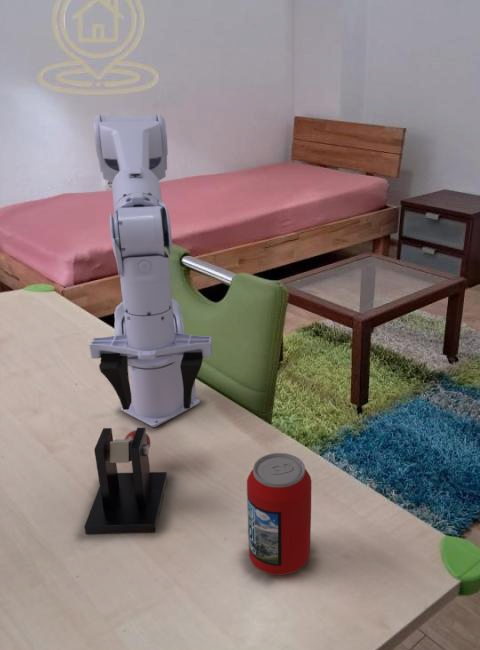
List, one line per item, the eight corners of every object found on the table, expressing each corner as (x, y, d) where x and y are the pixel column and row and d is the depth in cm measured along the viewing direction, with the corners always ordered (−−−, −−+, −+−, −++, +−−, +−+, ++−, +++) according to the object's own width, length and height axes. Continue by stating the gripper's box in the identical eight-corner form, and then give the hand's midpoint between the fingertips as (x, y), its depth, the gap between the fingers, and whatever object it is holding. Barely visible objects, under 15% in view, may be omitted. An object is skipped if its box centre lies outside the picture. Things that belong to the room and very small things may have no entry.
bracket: (105, 480, 82) (96, 415, 78) (167, 479, 82) (161, 414, 78) (85, 534, 73) (73, 464, 69) (155, 532, 73) (148, 462, 69)
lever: (126, 454, 84) (126, 429, 85) (152, 454, 84) (152, 428, 85) (104, 467, 73) (104, 437, 73) (134, 466, 73) (134, 437, 73)
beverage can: (240, 545, 72) (237, 457, 67) (295, 529, 74) (296, 443, 69) (261, 588, 66) (259, 495, 61) (320, 569, 68) (322, 478, 63)
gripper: (77, 320, 72) (92, 422, 77) (206, 319, 72) (212, 420, 78) (92, 298, 78) (105, 394, 84) (211, 297, 79) (216, 392, 84)
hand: (157, 405), depth 81 cm, fingers open, 7 cm apart
